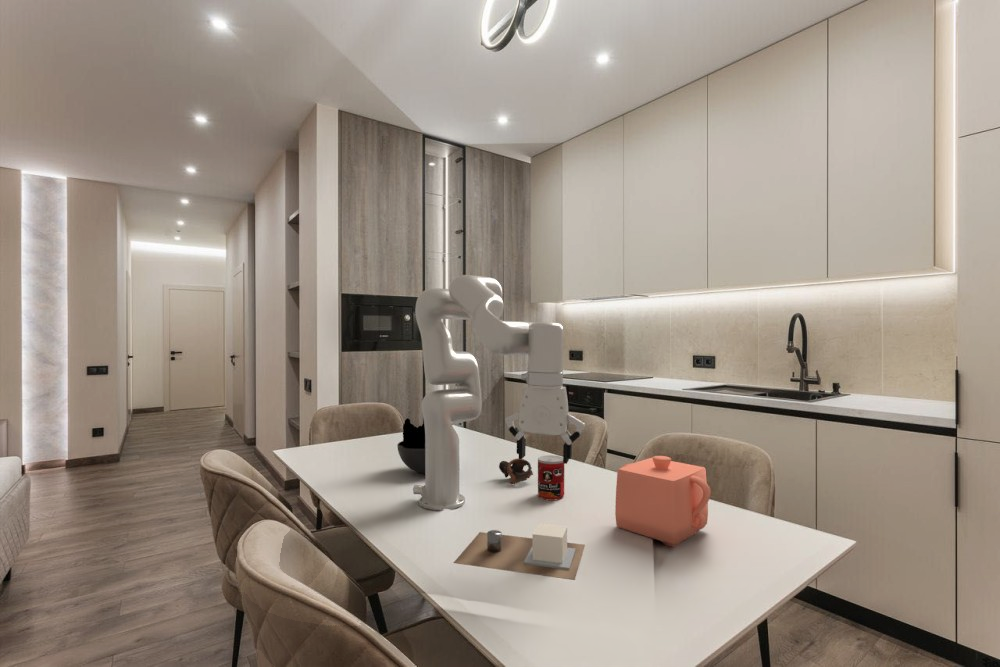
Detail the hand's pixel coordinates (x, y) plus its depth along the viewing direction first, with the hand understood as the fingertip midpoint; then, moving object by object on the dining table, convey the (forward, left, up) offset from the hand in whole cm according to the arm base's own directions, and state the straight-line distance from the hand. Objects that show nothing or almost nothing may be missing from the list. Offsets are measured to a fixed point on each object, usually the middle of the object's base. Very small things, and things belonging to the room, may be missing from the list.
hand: (543, 459), depth 104 cm
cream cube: (+2, -5, -18) cm, 19 cm away
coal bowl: (-52, +51, -20) cm, 76 cm away
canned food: (-6, +38, -20) cm, 44 cm away
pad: (+2, -5, -19) cm, 19 cm away
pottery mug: (-20, +50, -20) cm, 58 cm away
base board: (-4, -5, -20) cm, 21 cm away
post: (-10, -5, -19) cm, 21 cm away
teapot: (+26, +22, -20) cm, 40 cm away
